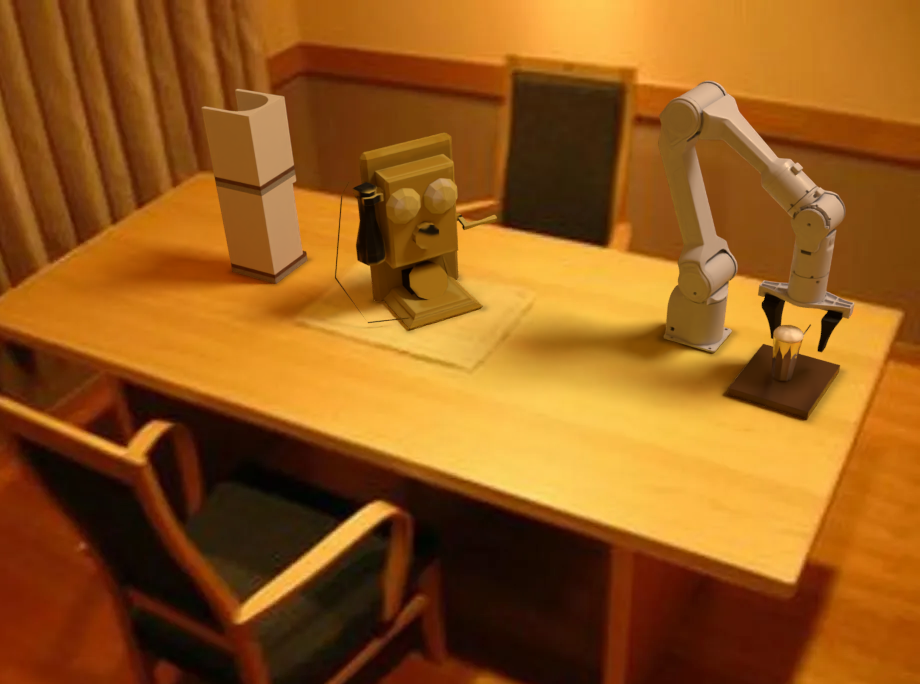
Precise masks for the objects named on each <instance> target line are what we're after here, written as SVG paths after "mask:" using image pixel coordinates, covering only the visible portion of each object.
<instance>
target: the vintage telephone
mask: <svg viewBox="0 0 920 684" xmlns="http://www.w3.org/2000/svg"><path fill="white" fill-rule="evenodd" d="M452 139H453V138H452V136H451V135H450V134H448V133H447V132H441V133H435V134H433V135H429V136H424V137H420V138H417V139H412V140H408V141H404V142H400V143H395V144H392V145H388V146H383V147H380V148H375V149H371V150H367V151H363V152H362V153H361V154H360V155H359V156H358V162H359V173H360V174H359V175H360V184H358V185H356V186H354V187H353V188H352V194H353V195H354V197H355V198H356V200H357V207H358V208H357V209H358V218H359V221H358V222H359V223H358V230H357V235H356V241H355V250H356V260H357V261H358V262H360V263H362V264H364V265H366V266H368V267H369V270H370V280H371V288H372V297H373V298H372V299H373V301H374V302H375V303H382V302H385V303H386V305H388V306H389V308H390V309H391V310H392V311H393V312H394V313H395V314H396V315H397V317H398V318H391V319H382V320H374V321H367V320H366V318H365V317H364V315H363V314H362V312H361V311H360V309H359V307H357V305H356V304H355V302H354V301H353V300H352V298H351V296H350V295H349V294H348V292H347V291H346V289H345V288H344V286H343V285H342V283H341V282H340V280H339V279H338V278H337V269H338V256H339V243H340V231H341V219H342V205H343V196H344V193H345V191H346V189H347V187H348V184H349V183H347V184H346V185H345V188H344V190H343V192H342V193H341V195H340V204H339V205H340V206H339V219H338V231H337V243H336V255H335V270H334V279H335V281H336V282H337V283H338V285H339V286H340V287H341V289H342V290H343V291H344V292H345V293H344V294H346V296H347V297H348V298H349V299H350V301H351V302H352V304H353V305H354V306H355V307H356V309H357V310H358V312H359V313H360V314H361V316H362V317H363V318H364V319H365V321H367V324H372V323H373V324H374V323H383V322H391V321H399V320H401V321H402V322H403V323H404V325H405V326H406V327H407V328H408V329H409V330H415V329H417V328H420V327H424V326H427V325H430V324H434V323H437V322H440V321H443V320H447V319H450V318H453V317H456V316H457V317H458V316H460V315H463V314H467V313H470V312H473V311H476V310H479V309H483V307H484V305H483V304H482V303H481V302H479V301H478V299H476V298H475V297H474V296H473V294H471V293H470V292H469V291H468V290H467V289H466V288H465V287H464V286H463V285H462V284H461V283H459V282H458V279H459V261H458V260H459V259H458V251H459V238H458V236H459V235H458V222H459V223H460V224H461V228H462V230H463V231H466V230H469V229H472V228H475V227H478V226H482V225H487V224H488V225H489V224H492V223H493V224H494V223H497V220H498V216H496V214H493V215H489V216H487V217H484V218H482V219H478V220H473V221H469V222H468V221H467V220H466V219H465V218H464V216H463V215H462V214H461V212H457V200H458V198H459V197H458V196H459V195H458V186H457V184H456V179H455V162H454V159H453V143H452V141H453V140H452Z"/></svg>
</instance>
